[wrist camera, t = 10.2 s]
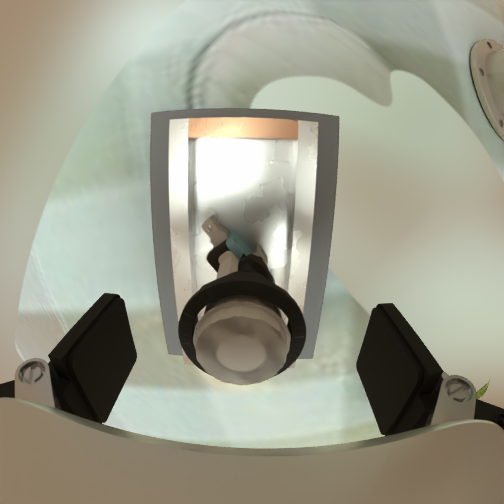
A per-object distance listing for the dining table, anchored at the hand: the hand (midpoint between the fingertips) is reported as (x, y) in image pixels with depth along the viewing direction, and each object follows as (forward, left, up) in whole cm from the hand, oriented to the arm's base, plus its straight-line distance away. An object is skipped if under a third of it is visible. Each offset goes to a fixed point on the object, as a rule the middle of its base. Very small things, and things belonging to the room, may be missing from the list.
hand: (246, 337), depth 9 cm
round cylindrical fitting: (+1, 0, -10) cm, 10 cm away
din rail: (+1, 0, -10) cm, 11 cm away
